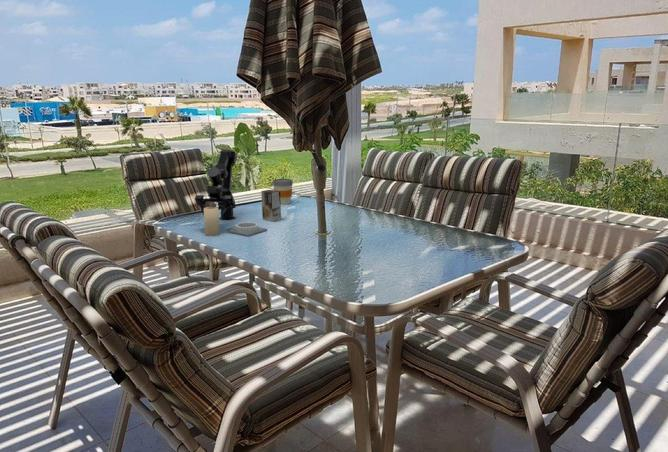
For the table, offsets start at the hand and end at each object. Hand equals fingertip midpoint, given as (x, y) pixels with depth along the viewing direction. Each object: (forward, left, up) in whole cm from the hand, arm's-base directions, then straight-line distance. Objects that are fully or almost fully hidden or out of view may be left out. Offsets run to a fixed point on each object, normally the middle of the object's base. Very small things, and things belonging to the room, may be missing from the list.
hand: (212, 214), depth 247 cm
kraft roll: (+2, +1, -9) cm, 10 cm away
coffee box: (-38, +5, -10) cm, 40 cm away
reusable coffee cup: (-76, -18, -10) cm, 79 cm away
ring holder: (-11, +12, -9) cm, 19 cm away
